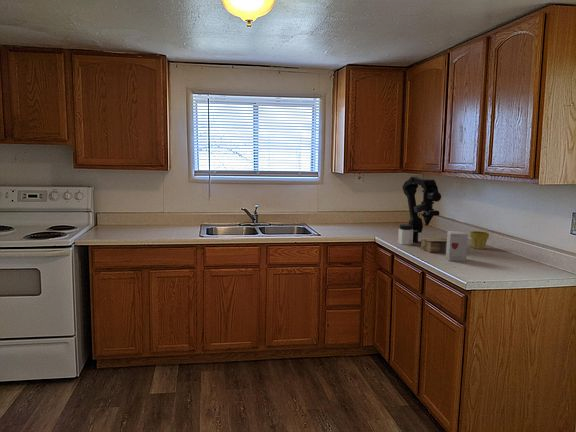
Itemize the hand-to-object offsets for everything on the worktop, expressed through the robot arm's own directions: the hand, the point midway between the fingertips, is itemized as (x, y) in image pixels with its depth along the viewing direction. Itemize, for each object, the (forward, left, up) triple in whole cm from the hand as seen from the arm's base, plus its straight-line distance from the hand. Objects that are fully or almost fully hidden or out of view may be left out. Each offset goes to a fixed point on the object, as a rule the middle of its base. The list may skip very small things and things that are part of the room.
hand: (426, 225), depth 297 cm
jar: (-7, -12, -13) cm, 19 cm away
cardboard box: (+12, +4, -13) cm, 18 cm away
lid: (+12, +4, -7) cm, 15 cm away
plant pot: (-1, +31, -13) cm, 34 cm away
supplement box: (+36, +10, -13) cm, 40 cm away
